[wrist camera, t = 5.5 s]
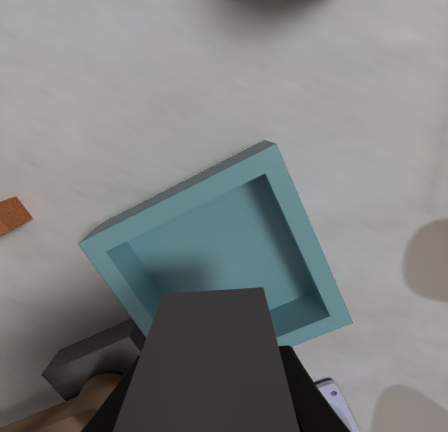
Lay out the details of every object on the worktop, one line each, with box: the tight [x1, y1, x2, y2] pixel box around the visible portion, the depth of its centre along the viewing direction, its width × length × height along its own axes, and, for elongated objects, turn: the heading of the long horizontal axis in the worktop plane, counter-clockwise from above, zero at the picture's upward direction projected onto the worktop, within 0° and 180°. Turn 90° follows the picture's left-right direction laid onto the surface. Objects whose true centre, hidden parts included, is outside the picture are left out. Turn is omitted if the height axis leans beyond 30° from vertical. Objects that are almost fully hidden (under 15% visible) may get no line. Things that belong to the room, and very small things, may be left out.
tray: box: [78, 140, 353, 347], centre depth 16 cm, size 11×11×4 cm
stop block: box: [113, 287, 300, 432], centre depth 8 cm, size 4×4×7 cm
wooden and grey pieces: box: [0, 197, 146, 401], centre depth 18 cm, size 18×7×2 cm, turn 27°
